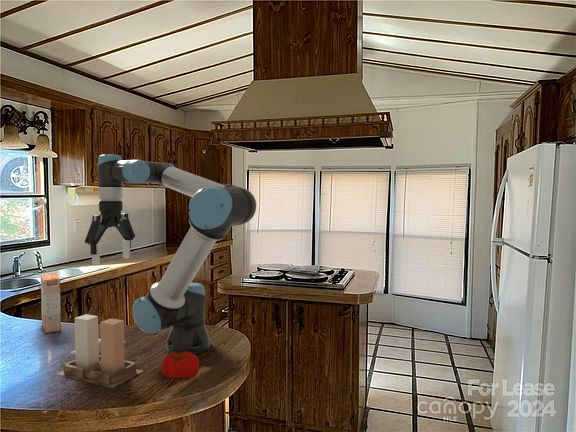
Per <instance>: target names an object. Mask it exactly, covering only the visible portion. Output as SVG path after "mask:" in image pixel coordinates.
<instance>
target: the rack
mask: <svg viewBox="0 0 576 432" xmlns="http://www.w3.org/2000/svg"><path fill="white" fill-rule="evenodd" d="M142 372H144V370H142V369H139V368H138V369H137V363H136V362H135V361H130V360H125V368H123V369H121V370H119V371H117V372H115V373H113V374H107V373H103V372H101V354H99V362H98V363H95V364H93V365H91V366H89V367H87V368H81V367H77V366H76V358H75V359H73V360H70V361H68V362H66V363H64V364H63V370H61V371H59V372H56V373H55V375H59V376H62V377H66V378H70V379H75V380H78V381H83V382H86V383H90V384H93V385H94V384H95V385H99V386H103V387H106V388H107V387H108V388H111V389H115V387H117V386H119V385H121V384H123V383H124V382H126V381H128V380H130V379H132V378H133V377H136V376H137V375H139V374H140V373H142Z"/></svg>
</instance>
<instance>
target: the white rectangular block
mask: <svg viewBox="0 0 576 432" xmlns="http://www.w3.org/2000/svg"><path fill="white" fill-rule="evenodd" d="M74 342H75V343H74V344H75V346H74V348H75V349H74V350H75V353H76V355H75V359H76V366H77V367H81V368H87V367H89V366H91V365H93V364H95V363H98V362H99V355H100V353H99V316H98V315H94V314H93V315H92V314H87V313H85V314H83V315H80V316H76V317H74Z"/></svg>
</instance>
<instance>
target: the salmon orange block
mask: <svg viewBox="0 0 576 432" xmlns="http://www.w3.org/2000/svg"><path fill="white" fill-rule="evenodd" d="M99 328H100V334H99V335H100V339H101V352H100V355H101V372H103V373H107V374H113V373H115V372H117V371H119V370H121V369H123V368H125V359H126V357H125V354H126V353H125V352H126V351H125V344H124V340H125V320H123V319H116V318H109V319H106V320H103V321H101V322H99Z"/></svg>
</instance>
